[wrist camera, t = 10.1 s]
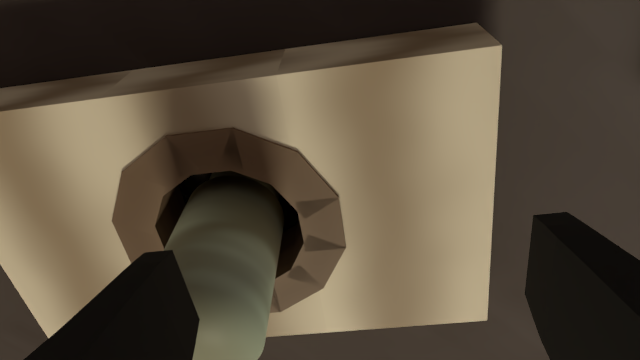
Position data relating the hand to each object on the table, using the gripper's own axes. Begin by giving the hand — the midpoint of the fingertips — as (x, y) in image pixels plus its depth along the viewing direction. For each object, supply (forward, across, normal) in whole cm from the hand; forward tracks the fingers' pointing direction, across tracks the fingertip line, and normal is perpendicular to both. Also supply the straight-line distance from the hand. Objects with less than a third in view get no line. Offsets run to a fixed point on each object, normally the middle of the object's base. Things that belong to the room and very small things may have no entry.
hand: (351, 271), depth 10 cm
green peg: (+10, +5, +4) cm, 12 cm away
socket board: (+10, +5, +4) cm, 12 cm away
